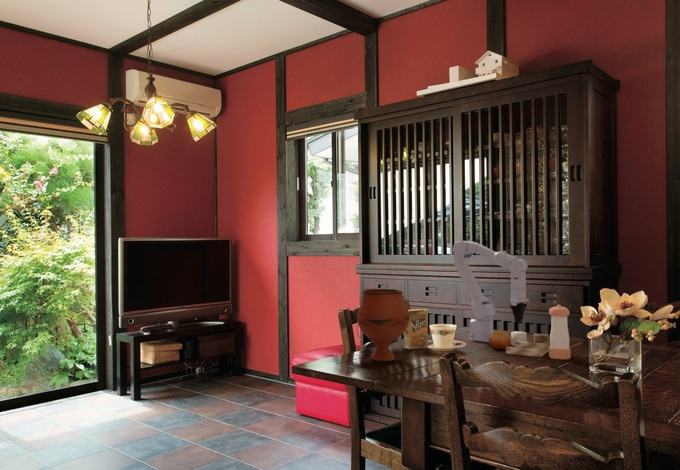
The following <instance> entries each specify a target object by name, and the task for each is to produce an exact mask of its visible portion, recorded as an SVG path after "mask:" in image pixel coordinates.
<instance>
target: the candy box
mask: <svg viewBox="0 0 680 470" xmlns="http://www.w3.org/2000/svg"><path fill="white" fill-rule="evenodd" d="M408 311H409V323H408V326H407V328H406V329H405V331H404V332H403V336H404V338H403V339H404V340H403V341H404V347H403V348H404V349H407V350H415V349H416V350H417V349H427V348H426V347H428V348H429V321H428V320H429V318H428V316H429V314H428V312H429V309H424V308H418V309H417V308H416V309H408Z"/></svg>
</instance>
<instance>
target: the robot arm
mask: <svg viewBox="0 0 680 470" xmlns="http://www.w3.org/2000/svg"><path fill="white" fill-rule="evenodd" d="M451 251H452V253H453V266H454V267H455V269H456V271H457V273H458V275H459V277H460V279H461V281H462V283H463V285H464V287H465V290H466V291H467V293H468V295H469V298H470V299H471V304H470V306H471V308H472V314H473V316H474V318H471V319H470V321H469V339H468V340H469V341H474V342H482V343H483V342H484V343H490V341H489V337H490V335H491V334H492V333H494V316H495V314H496V307H495V306H494V304H493V303H491V302H490V300H489V299H488V298H487V297H486V296H485V295H484V294H483V292H482V289H481V287H480V286H479V284H478V282H477V281H478V280H476V278H475V276H474V274H473V272H472V270H471V268H470V265H469V264H468V263H469V261H470V258H471V257H472V256H473V255H474V254H479V255H482V256H484V257H486V258H490V259H492V260H493V262H494V263H495V264H496V265H498V266H501V267H503V268H504V269H507V270H509V272H510V292H511V293H510V304H509V307H510V309H511V311H512V314H513V319H514V321H515V323H521V322H523V319H524V314H525V311H526V308H527V306H528V303H526V302H529V301H530V299H529V298H527V293H526V292H527V288H526V287H527V283H526V282H527V280H526V279H527V278H526V271H527V270H528V267H529V266H528V263H527V261H526V260H525V259H523V258H518V257H517V256H516V255H514V256H513V255H512V254H508V253H507V251H506V250H500V251H494V250H492V249H490V248H489V247H486V246H485V245H482V244H480V243H479V242H475V241H473V240H457V241H456V242H454V244H453V246H452V249H451Z"/></svg>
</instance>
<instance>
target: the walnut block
mask: <svg viewBox="0 0 680 470" xmlns="http://www.w3.org/2000/svg"><path fill="white" fill-rule="evenodd" d="M533 343H543V344H549V345H550V335H549V334H547V333H533Z"/></svg>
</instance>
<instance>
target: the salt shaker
mask: <svg viewBox="0 0 680 470" xmlns="http://www.w3.org/2000/svg"><path fill="white" fill-rule="evenodd" d="M548 310H549V311H548V313H549V315H550V318H551V319H550V321H551V327H550V334H549V351H548V357H549V358H551V359H555V360H570V359H571V355H572V354H571V347H570V336H569V329H568V317H569V316H570V310H569V309H568V308H567V307H565V306H562V305H561V304H557V305H556V306H553V307H550V308H549V309H548Z"/></svg>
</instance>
